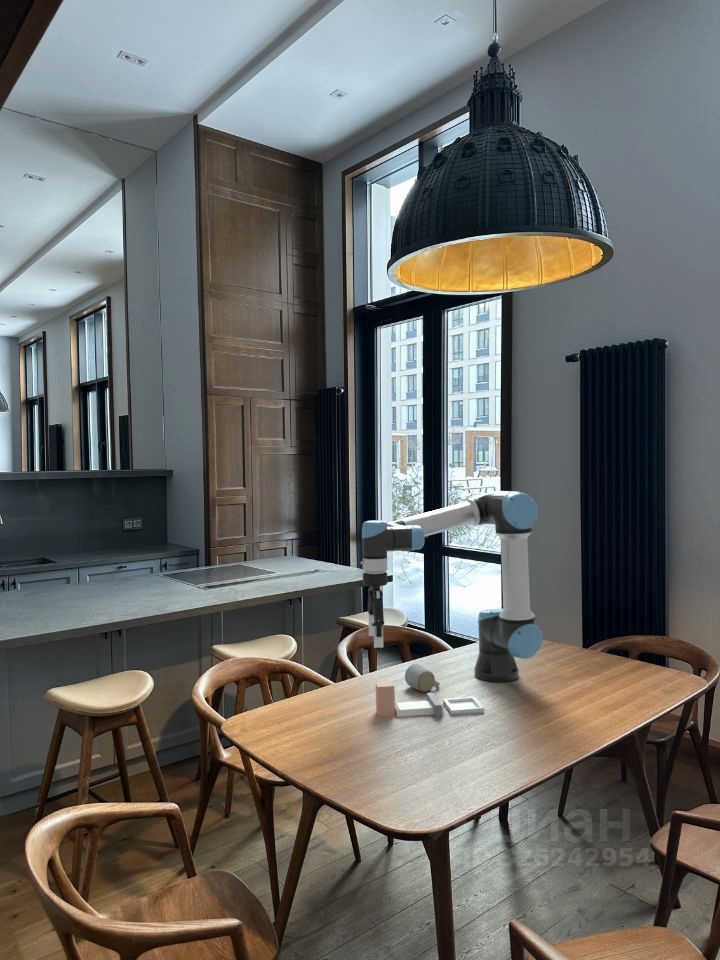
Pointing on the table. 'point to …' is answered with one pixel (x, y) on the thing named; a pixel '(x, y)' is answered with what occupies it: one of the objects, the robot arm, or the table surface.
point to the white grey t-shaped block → (420, 707)
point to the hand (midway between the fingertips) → (375, 641)
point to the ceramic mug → (420, 678)
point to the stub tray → (463, 705)
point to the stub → (385, 699)
